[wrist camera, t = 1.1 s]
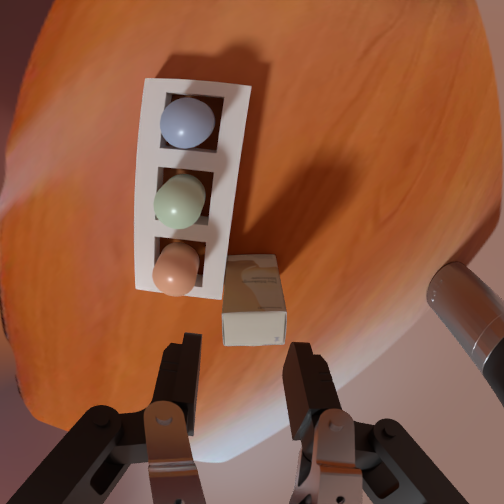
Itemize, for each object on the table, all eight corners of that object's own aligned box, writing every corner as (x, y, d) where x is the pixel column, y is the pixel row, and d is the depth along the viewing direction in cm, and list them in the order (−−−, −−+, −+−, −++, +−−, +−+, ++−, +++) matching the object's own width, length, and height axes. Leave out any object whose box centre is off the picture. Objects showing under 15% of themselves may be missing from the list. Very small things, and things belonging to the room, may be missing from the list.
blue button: (218, 102, 28) (215, 99, 24) (211, 146, 30) (208, 150, 26) (172, 98, 28) (163, 96, 24) (166, 142, 29) (157, 146, 26)
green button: (208, 176, 31) (204, 184, 28) (203, 218, 33) (199, 231, 30) (164, 171, 31) (154, 179, 27) (161, 213, 33) (152, 226, 29)
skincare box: (275, 253, 38) (291, 310, 27) (274, 282, 40) (288, 345, 29) (224, 254, 38) (220, 313, 27) (226, 284, 40) (223, 348, 29)
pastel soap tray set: (250, 88, 30) (251, 86, 27) (222, 287, 40) (221, 299, 37) (152, 81, 29) (145, 78, 26) (141, 277, 39) (135, 288, 36)
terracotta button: (200, 244, 35) (197, 260, 31) (198, 280, 37) (194, 298, 33) (160, 239, 34) (152, 255, 31) (159, 275, 36) (152, 293, 33)
